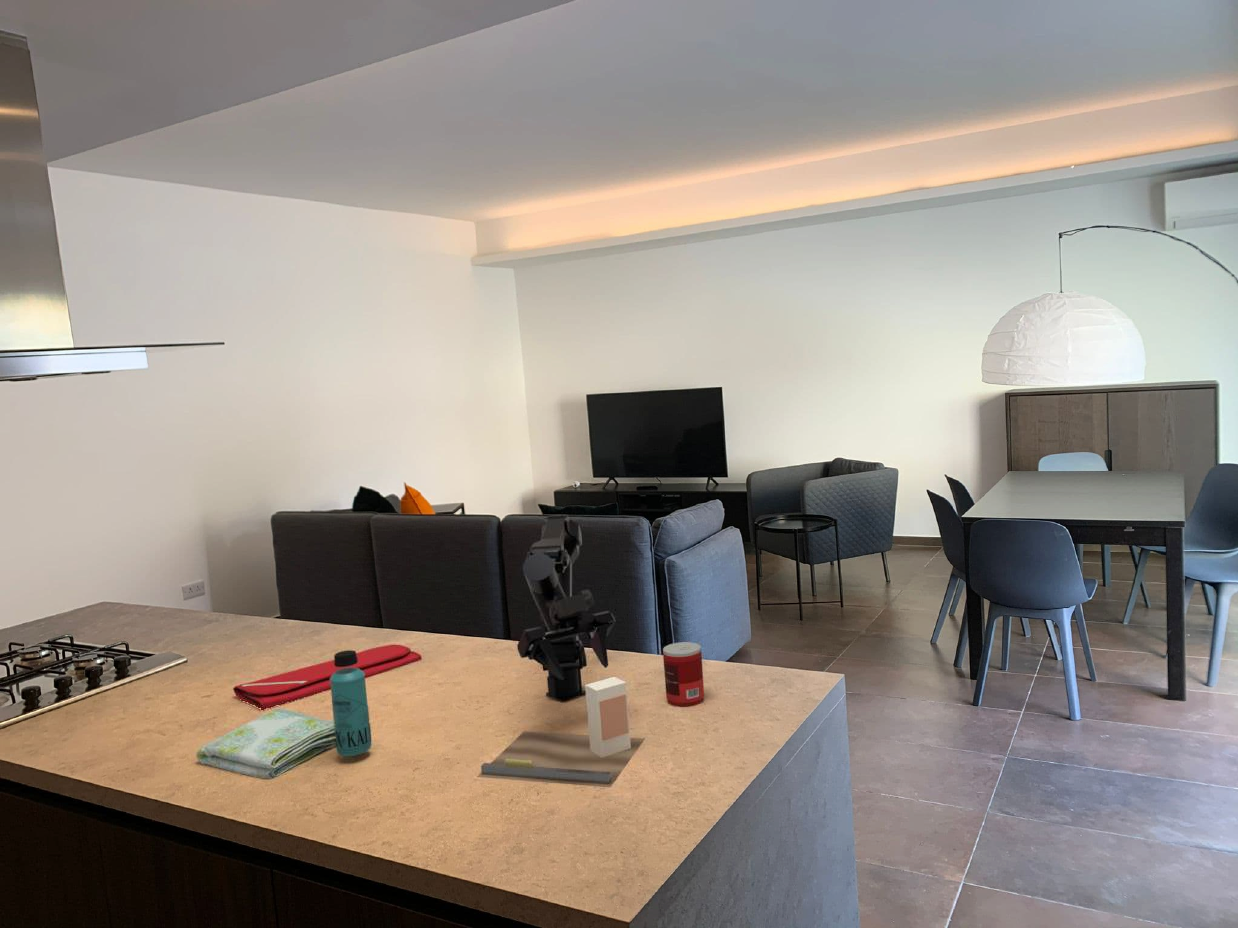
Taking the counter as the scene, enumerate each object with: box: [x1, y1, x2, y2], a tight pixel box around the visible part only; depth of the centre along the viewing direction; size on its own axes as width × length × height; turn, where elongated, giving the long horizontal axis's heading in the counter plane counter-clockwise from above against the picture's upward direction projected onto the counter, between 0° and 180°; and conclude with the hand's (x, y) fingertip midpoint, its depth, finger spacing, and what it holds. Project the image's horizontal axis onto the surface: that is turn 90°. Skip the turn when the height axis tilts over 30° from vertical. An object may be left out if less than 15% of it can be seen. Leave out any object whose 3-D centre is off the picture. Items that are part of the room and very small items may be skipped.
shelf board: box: [476, 730, 646, 788], centre depth 157 cm, size 20×24×1 cm
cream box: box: [584, 676, 631, 758], centre depth 158 cm, size 4×6×12 cm
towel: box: [195, 708, 336, 780], centre depth 172 cm, size 18×21×5 cm
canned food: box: [662, 641, 705, 708], centre depth 183 cm, size 8×8×11 cm
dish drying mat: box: [232, 643, 422, 711], centre depth 215 cm, size 16×41×4 cm, turn 136°
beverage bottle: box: [330, 649, 373, 757], centre depth 166 cm, size 6×7×20 cm
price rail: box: [480, 759, 612, 784], centre depth 150 cm, size 2×23×2 cm, turn 72°
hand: (585, 672), depth 164 cm, fingers open, 9 cm apart
